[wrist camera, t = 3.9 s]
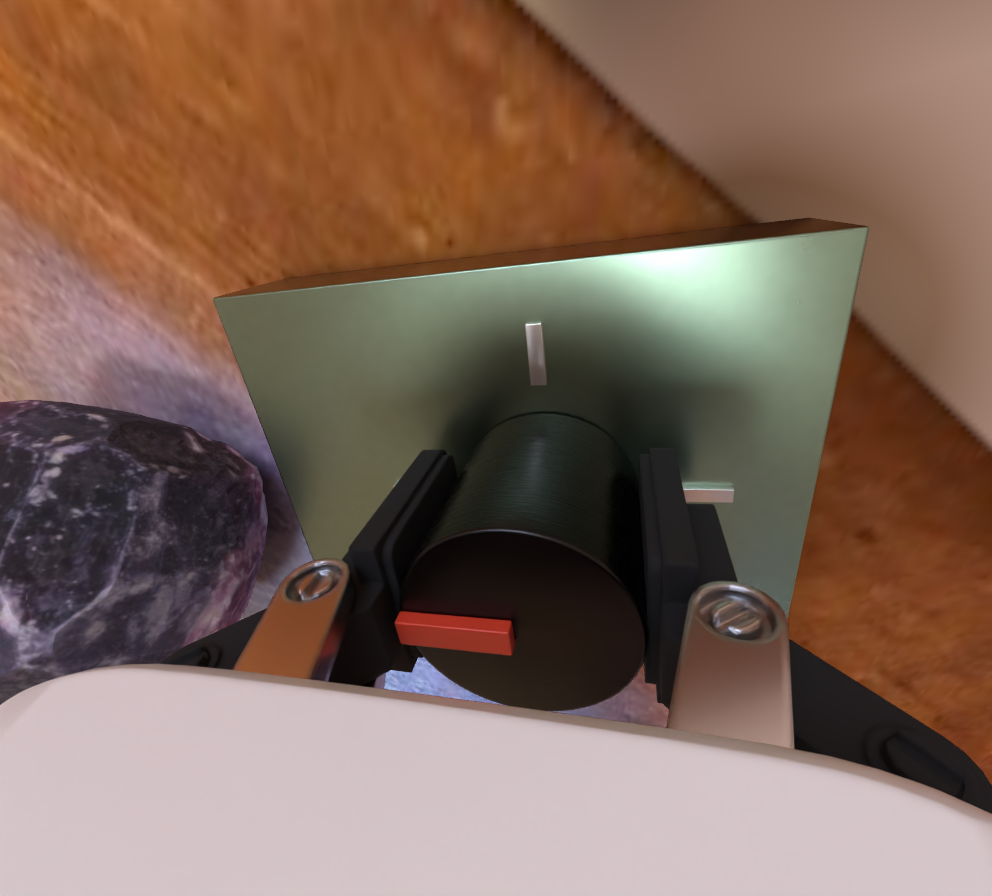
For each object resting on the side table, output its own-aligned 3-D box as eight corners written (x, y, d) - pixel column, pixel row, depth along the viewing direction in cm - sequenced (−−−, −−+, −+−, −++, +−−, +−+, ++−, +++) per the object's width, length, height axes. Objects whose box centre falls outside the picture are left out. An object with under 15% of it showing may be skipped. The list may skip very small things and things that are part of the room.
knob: (639, 409, 11) (652, 549, 6) (637, 562, 13) (647, 743, 8) (453, 414, 12) (363, 536, 8) (478, 554, 14) (418, 710, 10)
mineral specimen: (78, 286, 14) (-304, 623, 7) (348, 471, 20) (284, 739, 13) (-46, 427, 18) (-369, 731, 11) (214, 544, 24) (112, 782, 17)
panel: (810, 217, 11) (875, 226, 8) (753, 583, 16) (781, 666, 13) (284, 278, 14) (205, 299, 12) (372, 561, 19) (332, 622, 17)
